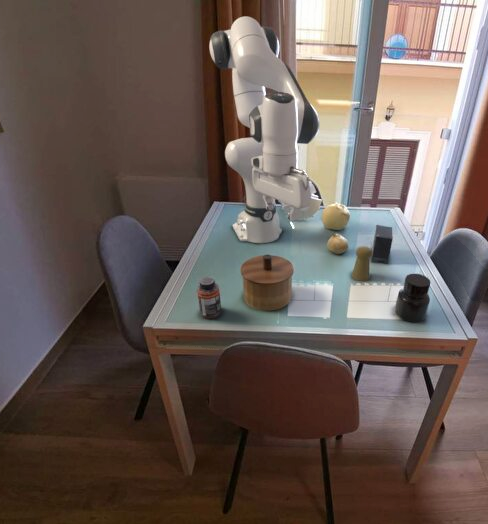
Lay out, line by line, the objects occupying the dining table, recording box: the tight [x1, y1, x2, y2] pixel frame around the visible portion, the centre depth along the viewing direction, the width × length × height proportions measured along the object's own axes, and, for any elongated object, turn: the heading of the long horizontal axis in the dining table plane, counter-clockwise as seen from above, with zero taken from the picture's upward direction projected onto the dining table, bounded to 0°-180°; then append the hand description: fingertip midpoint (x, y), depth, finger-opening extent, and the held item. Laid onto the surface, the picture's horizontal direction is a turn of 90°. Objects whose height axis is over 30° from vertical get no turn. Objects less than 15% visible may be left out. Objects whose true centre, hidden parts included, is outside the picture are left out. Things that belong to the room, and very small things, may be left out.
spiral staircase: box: [277, 180, 323, 221], centre depth 165 cm, size 18×18×25 cm
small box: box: [370, 224, 394, 264], centre depth 133 cm, size 11×6×10 cm, turn 168°
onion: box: [326, 233, 349, 255], centre depth 136 cm, size 8×8×7 cm
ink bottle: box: [394, 272, 432, 323], centre depth 103 cm, size 10×9×12 cm
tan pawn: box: [351, 245, 372, 282], centre depth 120 cm, size 6×6×11 cm
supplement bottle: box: [196, 276, 222, 319], centre depth 100 cm, size 6×6×11 cm
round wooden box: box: [242, 276, 293, 312], centre depth 108 cm, size 15×15×10 cm
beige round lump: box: [321, 202, 351, 231], centre depth 154 cm, size 11×12×11 cm
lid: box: [239, 254, 295, 285], centre depth 105 cm, size 16×16×5 cm
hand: (280, 214), depth 97 cm, fingers open, 8 cm apart
